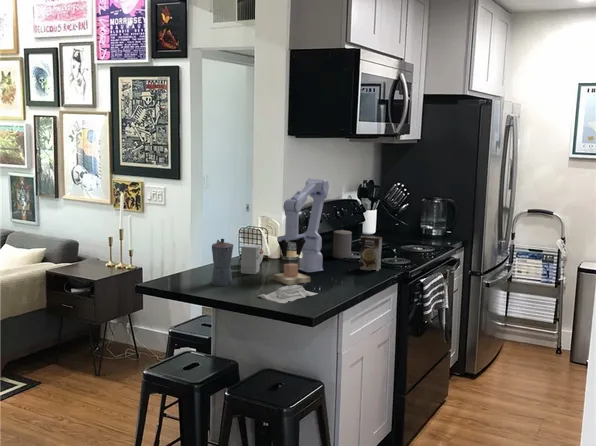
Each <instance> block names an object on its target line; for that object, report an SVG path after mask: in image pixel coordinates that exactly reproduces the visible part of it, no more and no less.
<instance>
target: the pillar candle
mask: <svg viewBox="0 0 596 446" xmlns="http://www.w3.org/2000/svg"><path fill="white" fill-rule="evenodd" d="M352 234H353V232H352V231H350V230H344V229H343V228H342V229H340V230H339V229H338V230H333V242H332V244H333V245H332V246H333V247H332V258H334V259H342V260H343V258H347V257H350V258H351V256H352V255H351V254H352ZM347 259H348V258H347Z"/></svg>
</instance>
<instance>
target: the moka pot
mask: <svg viewBox="0 0 596 446" xmlns="http://www.w3.org/2000/svg"><path fill="white" fill-rule="evenodd" d="M233 250H234V244H233V243H230V242H225V238H221V239H220V240H219V239H217V240H216V243H212V244H211V253H212V261H213V262H212V263H213V270H212V275H211V276H212V277H211V282H210V283H211V284H212V286H216V287H228V286H231V285H232V284H233V278H232V269H231V263H232V257H233Z"/></svg>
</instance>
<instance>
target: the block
mask: <svg viewBox="0 0 596 446" xmlns="http://www.w3.org/2000/svg"><path fill="white" fill-rule="evenodd" d="M298 268H299V264H297V263H293V262H289V263H284V264H283V273H284V275H285V276H288V277H294V276H298V273H299V269H298Z"/></svg>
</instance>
